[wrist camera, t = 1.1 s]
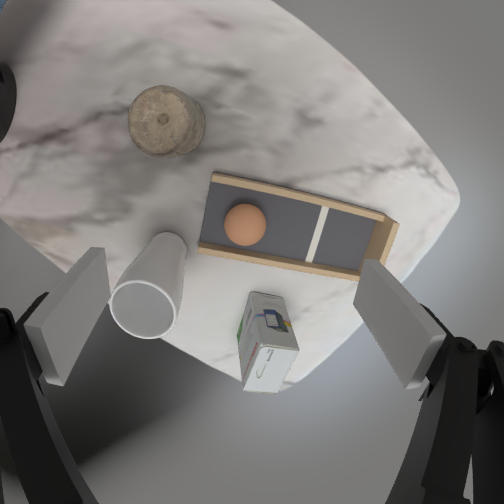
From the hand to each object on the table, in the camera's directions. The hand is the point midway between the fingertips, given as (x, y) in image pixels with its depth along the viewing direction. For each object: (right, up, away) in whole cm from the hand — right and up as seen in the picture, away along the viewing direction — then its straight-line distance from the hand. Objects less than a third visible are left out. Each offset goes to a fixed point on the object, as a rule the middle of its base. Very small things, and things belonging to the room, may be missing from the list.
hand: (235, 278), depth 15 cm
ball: (0, +6, +24) cm, 25 cm away
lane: (+7, +5, +26) cm, 27 cm away
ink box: (+2, -8, +31) cm, 32 cm away
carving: (-8, +17, +20) cm, 27 cm away
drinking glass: (-10, +2, +26) cm, 28 cm away
